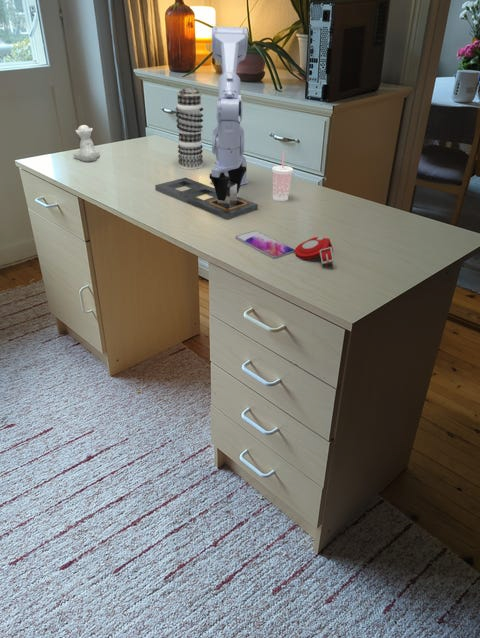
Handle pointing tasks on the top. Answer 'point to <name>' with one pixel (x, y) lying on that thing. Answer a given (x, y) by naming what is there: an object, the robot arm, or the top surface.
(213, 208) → the rail
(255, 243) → the smartphone
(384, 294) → the top surface
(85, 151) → the white creature statuette
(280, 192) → the beverage cup
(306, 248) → the tracker holder
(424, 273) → the top surface
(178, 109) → the decorative candle
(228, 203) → the block
